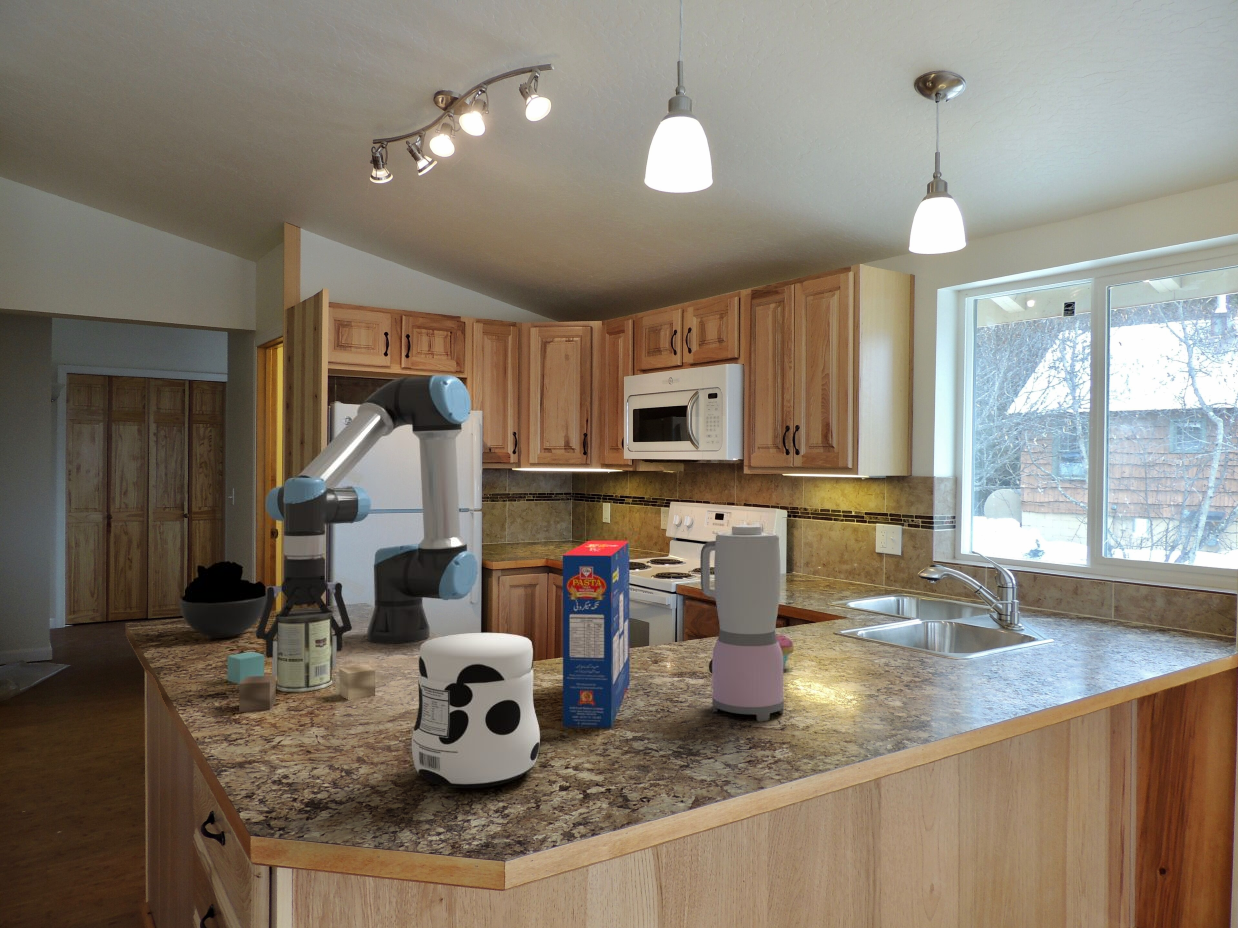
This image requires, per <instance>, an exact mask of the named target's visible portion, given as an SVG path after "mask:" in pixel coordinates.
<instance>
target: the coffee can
mask: <svg viewBox="0 0 1238 928" xmlns="http://www.w3.org/2000/svg"><path fill="white" fill-rule="evenodd" d="M329 611H330V612H328V613H322V611H321V610H320V608H303V609H294V610H292V609H291V610H290V612H289V614H288V615H287V617H282V616H279V615H278V614H279V613H277V614H276V615H275V619H276V620H278V632H277V634H276V639H277V676H276V690H278V691H281V692H285V693H301V692H303V693H305V692H313V691H317V690H321V689H325V688H328V687H330V686H331V685H333V673H332V672H333V670H332V634H333V632H332V631H333V628H332V626H331V616H333V611H332V610H330V609H329Z"/></svg>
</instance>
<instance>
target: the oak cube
mask: <svg viewBox="0 0 1238 928" xmlns="http://www.w3.org/2000/svg"><path fill="white" fill-rule="evenodd" d="M338 670H339V672H338V674H339V677H338V679H339V680H338V685H339V686H338V687H339V691H338V692H339V696H340V695H341V697H342V698H344V699H345V698H346V700H347V699H348V700H350V701H353V700H352V699H355V700H359V699H358V698H361V699H366V698H365V697H367V698H372V697H371V696H373V697H376V669H375V668H373V667H371V666H369V665H367V664H361V665H354V666H347V667H341V668H339V669H338ZM348 700H347V701H348Z"/></svg>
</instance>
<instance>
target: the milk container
mask: <svg viewBox="0 0 1238 928" xmlns="http://www.w3.org/2000/svg"><path fill="white" fill-rule="evenodd" d="M418 672H419V673H418V677H417V682H418V685H417V686H418V709H417V711H418V712H417V715H416V716H417V717H416V720H415V724H414V727H413V730H412V731H413V732H412V737H411V754H412V759H413V766H414V768H415V770H416V772H417V774H418V775H419V776H421V777H422V778H423V779H425V780H426V781H427V782H430V783H431V784H434V785H438V786H442V787H445V788H457V789H477V788H488V787H494V786H499V785H504V784H507V783H509V782H512V781H515V780H518V779H520V778H521V777H523V776H524V775H526V773H528V772H529V771H530V770H532V769H533V768H534V766H535V764H536V761H537V760H538V756H539V752H540V751H539V749H540V743H541V740H540V739H541V734H540V726H539V722H538V718H537V715H536V709H535V707H534V649H533V644H532V641H531V640H530V639H529V638H528V637H526V636H522V635H520V634H519V635H518V634H511V633H501V632H499V633H498V632H471V633H470V632H469V633H459V634H451V635H445V636H439V637H436V638H435V637H434V638H432V639H428V640H426V641H424V642H423V643H422V644H420V648H419V656H418Z"/></svg>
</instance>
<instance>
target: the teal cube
mask: <svg viewBox="0 0 1238 928" xmlns="http://www.w3.org/2000/svg"><path fill="white" fill-rule="evenodd" d="M226 659H227V665H226V666H227V667H226V669H227V671H226V672H227V674H226V675H227V677H226V679H227V680H228V682H230V681H231V683H234V684H237V685H239V683H240V682H241V681H242V680H243V679H244V678H245V677H253V676H265V654H262V653H259V652H255V651H246V652H242V653H236V654H230V655H227V658H226ZM227 680H226V681H227Z"/></svg>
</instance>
